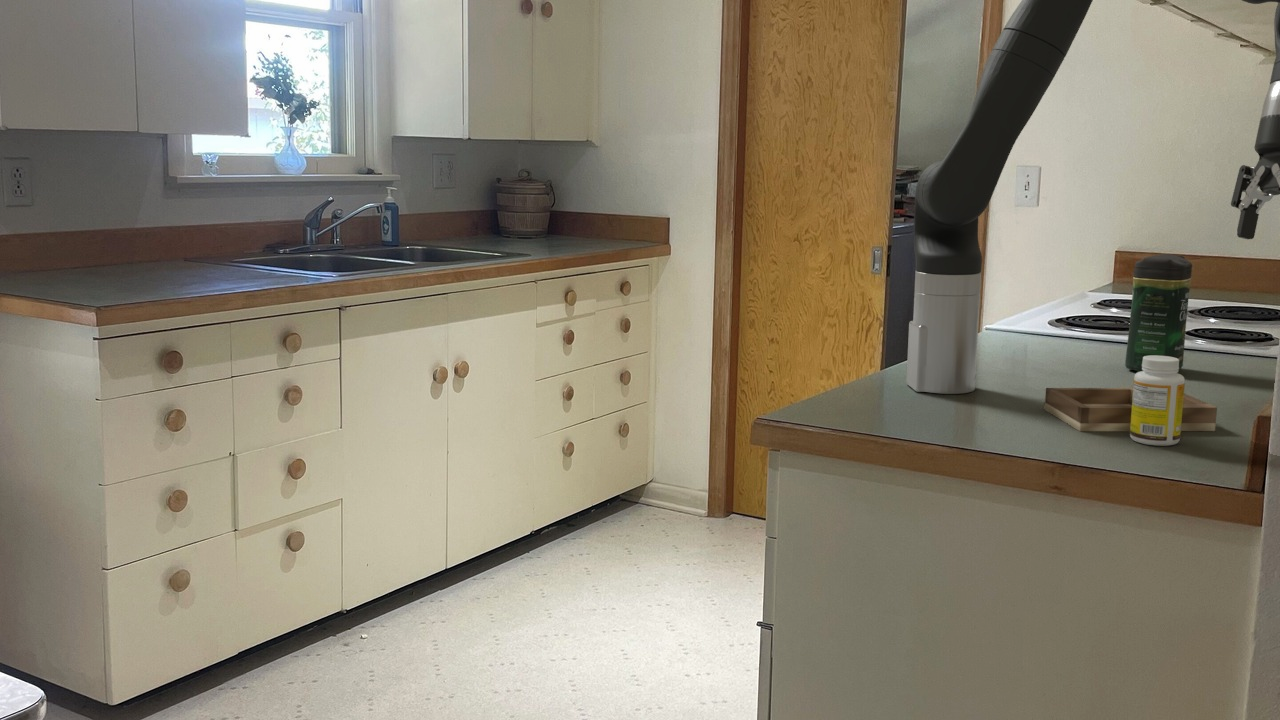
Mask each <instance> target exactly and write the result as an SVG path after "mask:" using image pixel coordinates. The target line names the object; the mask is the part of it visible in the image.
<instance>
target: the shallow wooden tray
mask: <svg viewBox="0 0 1280 720" xmlns="http://www.w3.org/2000/svg"><path fill="white" fill-rule="evenodd" d="M1132 399H1133V387H1046V388H1045V399H1044V410H1045V411H1046V412H1048V413H1049V412H1050V413H1049V414H1051V415H1052V414H1053V415H1052V416H1054V417H1056V418H1057V417H1058V418H1057V419H1059V420H1060V421H1062V422H1064V423H1065V424H1067V423H1068V424H1067V425H1069V426H1070V425H1071V426H1070V427H1072V428H1074V429H1075V430H1077V431H1078V432H1130V426H1131V413H1132ZM1217 412H1218V407H1217V406H1214V405H1213V404H1211V403H1208V402H1205V401H1204V400H1200V399H1199V398H1196V397H1193V396H1191V395H1189V394H1187V393H1185V392H1184V397H1183V410H1182V422H1181V432H1215V431H1216V425H1217V423H1216V422H1217V414H1218V413H1217Z"/></svg>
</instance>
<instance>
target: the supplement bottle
mask: <svg viewBox="0 0 1280 720" xmlns="http://www.w3.org/2000/svg"><path fill="white" fill-rule="evenodd" d="M1178 369H1179V359H1177V358H1174V357H1169V356H1159V355H1149V356H1144V357H1143V361H1142V370H1143V371H1140V372H1138V371H1137V372H1136V373H1135V374H1134V377H1133V387H1132V388H1133V399H1132V413H1131V426H1130V431H1129V436H1130V438H1131V440H1133V441H1135V442H1136V443H1139V444H1142V445H1143V444H1144V445H1148V446H1156V447H1157V446H1158V447H1169V446H1173V445H1176V444H1178V443H1179V442H1180V440H1181V432H1182V431H1181V422H1182V410H1183V397H1184V393H1185V383H1186V379H1185V377H1184V376H1183V375H1182V374H1180V373H1179V371H1180V370H1178Z"/></svg>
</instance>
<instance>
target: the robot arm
mask: <svg viewBox="0 0 1280 720" xmlns="http://www.w3.org/2000/svg"><path fill="white" fill-rule="evenodd" d="M1241 1H1242V2H1244V3H1245V2H1246V3H1248V4H1253V5H1261V4H1265V3H1277V5H1276V8H1275V12H1274V13H1275V14H1274V22H1273V24H1274V27H1273V30H1274V47H1275V59H1274V61H1273V66H1272V70H1271V71H1272V72H1271V76H1270V81H1269V85H1268V86H1269V87H1268V89H1267V91H1266V95H1265V97H1264V100H1263V104H1262V109H1261V115H1260V118H1259V125H1258V129H1257V133H1256V139H1255V142H1254V143H1255V144H1254V147H1253V148H1254V151H1255V152H1256V153H1257V154H1258V156H1259V158H1258V161H1257V163H1256V165H1255V166H1249V165H1245V164H1243V165H1241V166H1240V167H1239V170H1238V173H1237V178H1236V181H1235V185H1234V190H1233V193H1232V197H1231V200H1230V201H1231V202H1230V205H1231V207H1234V208H1236V209H1238V210H1239V211H1240V214H1239V220H1238V224H1237V228H1236V230H1237V233H1236V235H1237V237H1238V238H1240V239H1244V240H1253V239H1254V238H1255V234H1256V230H1257V225H1258V220H1259V216H1260V214H1259V212H1260V210H1261V209H1262V208H1263V206H1264V205H1265V204H1266V203H1267V202H1270V201H1271V200H1272V199H1273V198H1274V196H1278V195H1280V0H1241ZM1092 2H1093V0H1021V1H1020V3H1019V4H1018V6H1017V7H1016V8H1015V10H1014V12H1013V13H1012V14H1011V16H1009V19H1008V21H1007V22H1006V24H1005V25H1004V27H1003V28H1002V30H1001V32H1000V35H999V36H998V39H997V41H995V44H994V46H993V48H992V49H991V52H990V54H989V56H988V58H987V60H986V63H985V65H984V67H983V70H982V72H981V76H980V80H979V83H978V86H977V89H976V94H975V97H974V100H973V104H972V106H971V110H970V112H969V113H970V114H969V116H968V118H967V120H966V122H965V124H964V126H963V127H962V130H961V131H960V133H959V135H958V136H957V137H956V139H955V141H954V143H953V145H952V146H951V148H950V149H949V151H948V152H947V154H946V155H945V156H944V158H943V159H942V160H938V161H935V162H933V163H932V164H930V165H929V166H927V167H926V168H925V169H924V170H923V172H922V173H921V174H920V176H919V177H918V181H917V184H916V188H915V194H914V216H913V218H914V220H913V248H914V249H913V250H914V257H915V275H914V277H915V278H914V292H913V293H914V294H913V296H914V297H913V315H912V316H913V319H912V320H910V321H909V323H908V341H907V342H908V344H907V361H906V362H907V364H906V365H907V366H906V382H905V383H906V384H907V385H908V386H909V387H910V388H911V389H912V390H914V392H917V393H918V392H919V393H922V392H923V393H924V392H926V393H932V394H933V393H934V394H946V395H947V394H948V395H949V394H950V395H951V394H953V395H955V394H966V393H972V392H974V391H975V389H976V388H975V387H976V378H977V373H976V372H977V355H978V339H979V338H978V337H979V319H980V305H981V303H980V301H981V286H982V284H981V283H982V268H983V267H982V266H983V265H982V264H983V255H982V251H981V249H980V243H979V242H980V241H979V217H980V216H981V215H982V214H983V212H984V211H986V209H987V207H988V205H989V203H990V202H991V199H992V197H993V194H994V192H995V190H996V187H997V184H998V182H999V180H1000V177H1001V175H1002V172H1003V170H1004V168H1005V165H1006V163H1007V161H1008V158H1009V156H1010V155H1011V152H1012V150H1013V147H1014V146H1015V144H1016V141H1017V140H1018V138H1019V137H1020V135H1021V133H1022V132H1023V130H1024V128H1025V127H1026V125H1027V124H1028V122H1029V120H1030V119H1031V118H1032V116H1033V114H1034V112H1035V111H1036V109H1037V107H1038V106H1039V104H1040V102H1041V100H1042V99H1043V97H1044V95H1045V94H1046V91H1047V90H1048V88H1049V87H1050V85H1051V83H1053V80H1054V78H1055V76H1056V74H1057V73H1058V71H1059V69H1060V67H1061V65H1062V63H1063V61H1064V60H1065V58H1066V57H1067V54H1068V52H1069V51H1070V48H1071V46H1072V45H1073V42H1074V40H1075V38H1076V36H1077V34H1078V32H1079V30H1080V28H1081V26H1082V24H1083V22H1084V20H1085V18H1086V15H1087V14H1088V11H1089V10H1090V7H1091V4H1093V3H1092ZM1258 189H1259V190H1258ZM1243 192H1244V193H1245V196H1244V197H1243V198H1242V196H1243V195H1242V194H1243ZM1255 199H1256V200H1255ZM1254 200H1255V202H1254ZM1253 202H1254V203H1253Z"/></svg>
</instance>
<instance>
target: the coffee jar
mask: <svg viewBox="0 0 1280 720" xmlns="http://www.w3.org/2000/svg"><path fill="white" fill-rule="evenodd" d="M1192 270H1193V264H1192V262H1191V261H1190V260H1188V259H1187V258H1185V256H1183V255H1178V254H1170V253H1162V254H1158V255H1157V254H1156V255H1151V256H1146V257H1143V258H1142V259H1140V260H1137V261H1136V262H1135V263H1134V269H1133V274H1132V276H1133V277H1132V292H1131V293H1132V296H1131V306H1130V307H1131V308H1130V314H1129V315H1130V317H1129V325H1128V326H1129V327H1128V336H1127V342H1126V343H1127V344H1126V345H1127V346H1126V352H1125V353H1126V354H1125V361H1124V362H1125V364H1124V365H1125V368H1126V369H1127V370H1131V371H1136V372H1137V373H1138V372H1140V371H1143V370H1142V361H1143V357H1144V356H1149V355H1159V356H1169V357H1174V358H1177V359H1179V369H1178V370H1179V371H1180V370H1181V369H1182V368H1183V367H1184V354H1185V341H1186V329H1187V319H1188V307H1189V299H1190V298H1189V297H1190V291H1191V282H1192V272H1193V271H1192Z"/></svg>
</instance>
